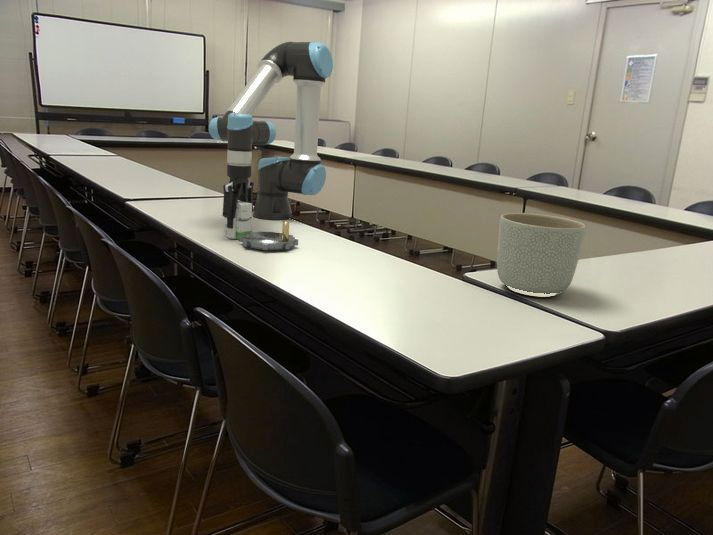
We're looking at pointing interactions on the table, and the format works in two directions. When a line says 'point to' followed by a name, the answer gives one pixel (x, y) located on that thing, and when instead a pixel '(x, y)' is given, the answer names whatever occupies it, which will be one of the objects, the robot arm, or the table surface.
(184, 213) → the table surface
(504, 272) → the planter
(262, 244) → the sprocket
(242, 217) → the ink box
